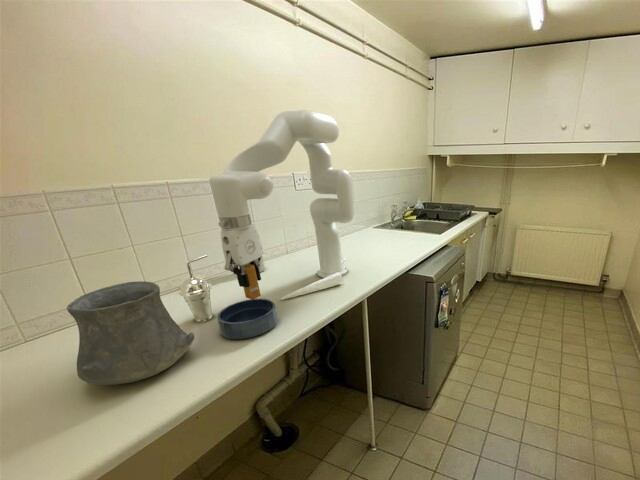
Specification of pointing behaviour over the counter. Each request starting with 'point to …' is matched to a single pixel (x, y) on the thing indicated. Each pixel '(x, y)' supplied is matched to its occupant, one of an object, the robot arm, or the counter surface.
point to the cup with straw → (197, 295)
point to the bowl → (247, 318)
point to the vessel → (125, 334)
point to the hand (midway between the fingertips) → (250, 282)
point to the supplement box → (251, 283)
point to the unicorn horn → (318, 285)
